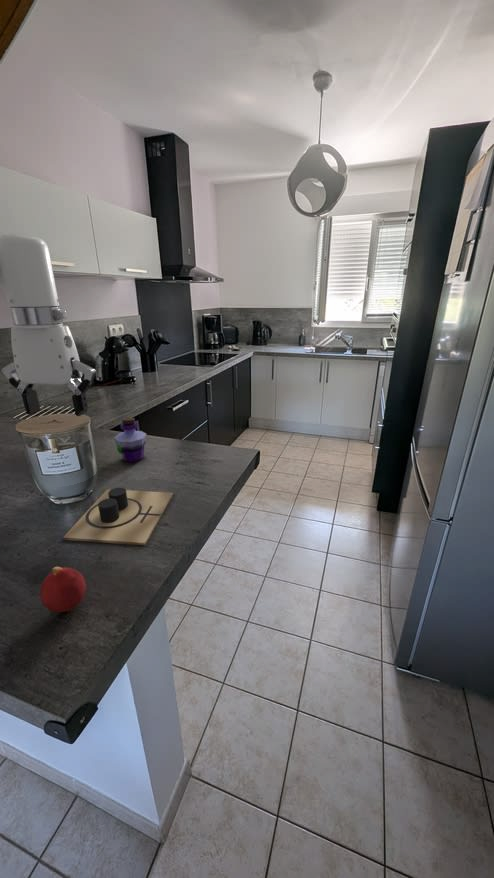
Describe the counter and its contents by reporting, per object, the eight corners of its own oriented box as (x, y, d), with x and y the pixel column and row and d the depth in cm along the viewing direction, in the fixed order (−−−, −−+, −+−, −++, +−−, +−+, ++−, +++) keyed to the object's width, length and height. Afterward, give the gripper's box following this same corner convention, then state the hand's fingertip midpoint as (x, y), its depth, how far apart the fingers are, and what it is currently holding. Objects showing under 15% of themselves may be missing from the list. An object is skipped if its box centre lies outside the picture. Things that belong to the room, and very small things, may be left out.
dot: (97, 522, 71) (94, 507, 70) (105, 512, 75) (103, 497, 73) (114, 523, 71) (112, 508, 70) (122, 513, 74) (120, 498, 73)
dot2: (107, 510, 75) (105, 495, 74) (115, 501, 79) (112, 486, 77) (124, 511, 75) (121, 496, 74) (130, 502, 78) (128, 487, 77)
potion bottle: (110, 461, 99) (104, 420, 94) (132, 450, 106) (127, 411, 101) (134, 467, 95) (128, 425, 91) (155, 455, 102) (151, 416, 98)
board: (63, 539, 67) (62, 537, 67) (107, 491, 84) (107, 488, 84) (144, 545, 66) (144, 542, 66) (173, 494, 82) (173, 492, 82)
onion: (73, 588, 56) (63, 547, 53) (97, 603, 54) (88, 561, 51) (38, 615, 52) (24, 572, 49) (62, 632, 49) (50, 588, 46)
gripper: (96, 317, 64) (110, 408, 70) (6, 316, 65) (28, 406, 72) (73, 319, 57) (91, 421, 63) (-27, 319, 58) (0, 418, 65)
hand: (57, 413), depth 67 cm, fingers open, 9 cm apart
